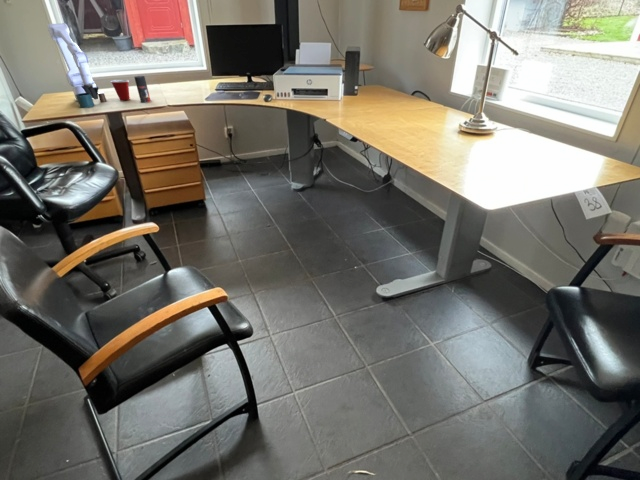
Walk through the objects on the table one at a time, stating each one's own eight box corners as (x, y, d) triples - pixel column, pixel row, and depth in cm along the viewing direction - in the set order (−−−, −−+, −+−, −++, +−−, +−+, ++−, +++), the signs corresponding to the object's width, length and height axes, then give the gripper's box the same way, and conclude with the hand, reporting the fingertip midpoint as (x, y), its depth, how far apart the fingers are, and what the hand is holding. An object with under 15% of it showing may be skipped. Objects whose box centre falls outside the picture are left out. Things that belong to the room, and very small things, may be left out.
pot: (83, 108, 233) (79, 96, 229) (77, 106, 237) (73, 94, 233) (99, 104, 239) (95, 93, 235) (93, 103, 243) (89, 91, 239)
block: (99, 101, 247) (96, 92, 244) (104, 100, 249) (102, 91, 246) (102, 102, 245) (99, 93, 242) (107, 101, 248) (104, 92, 245)
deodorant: (147, 102, 242) (140, 77, 234) (139, 102, 243) (132, 77, 235) (152, 100, 247) (146, 75, 238) (144, 100, 248) (137, 75, 239)
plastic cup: (137, 98, 253) (132, 78, 247) (125, 102, 245) (120, 82, 238) (124, 97, 256) (119, 78, 250) (112, 101, 248) (106, 81, 241)
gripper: (73, 74, 233) (81, 97, 240) (84, 77, 225) (92, 101, 232) (85, 72, 237) (93, 95, 245) (96, 75, 229) (103, 98, 237)
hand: (93, 98), depth 239 cm, fingers open, 7 cm apart
